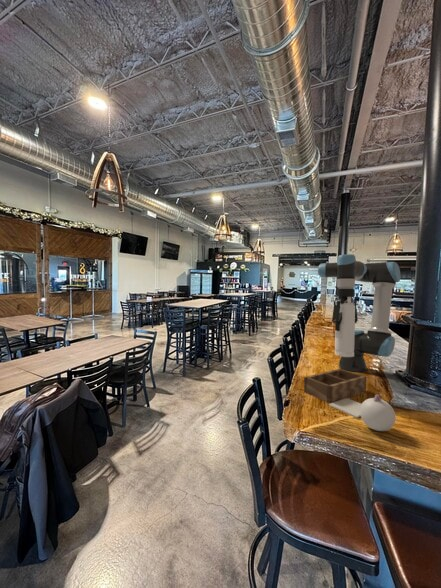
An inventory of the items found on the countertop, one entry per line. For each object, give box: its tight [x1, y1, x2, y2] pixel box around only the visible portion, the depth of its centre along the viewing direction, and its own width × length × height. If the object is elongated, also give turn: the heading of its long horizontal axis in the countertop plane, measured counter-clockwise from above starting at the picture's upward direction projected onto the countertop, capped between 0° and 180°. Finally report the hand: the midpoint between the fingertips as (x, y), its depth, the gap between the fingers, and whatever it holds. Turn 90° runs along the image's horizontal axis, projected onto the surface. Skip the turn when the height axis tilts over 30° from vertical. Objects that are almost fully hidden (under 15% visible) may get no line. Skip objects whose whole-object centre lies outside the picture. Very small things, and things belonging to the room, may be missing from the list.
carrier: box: [303, 368, 367, 404], centre depth 122 cm, size 26×14×7 cm, turn 120°
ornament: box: [360, 394, 397, 432], centre depth 90 cm, size 10×10×12 cm
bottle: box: [334, 297, 356, 357], centre depth 121 cm, size 8×8×28 cm
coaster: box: [328, 397, 362, 419], centre depth 106 cm, size 12×12×1 cm
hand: (344, 337), depth 121 cm, fingers closed on bottle, 8 cm apart
